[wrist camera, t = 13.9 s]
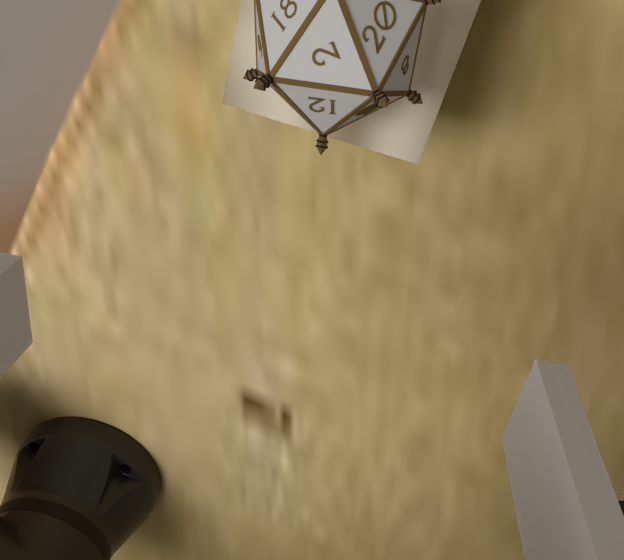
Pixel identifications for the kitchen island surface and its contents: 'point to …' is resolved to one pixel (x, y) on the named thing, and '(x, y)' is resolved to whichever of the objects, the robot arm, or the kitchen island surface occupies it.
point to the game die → (337, 56)
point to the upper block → (388, 120)
